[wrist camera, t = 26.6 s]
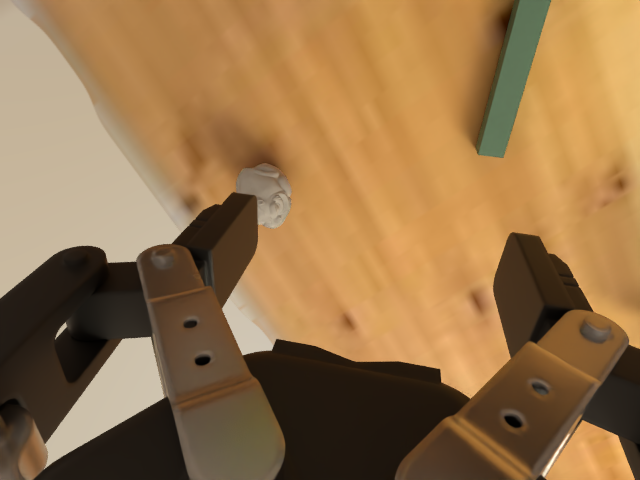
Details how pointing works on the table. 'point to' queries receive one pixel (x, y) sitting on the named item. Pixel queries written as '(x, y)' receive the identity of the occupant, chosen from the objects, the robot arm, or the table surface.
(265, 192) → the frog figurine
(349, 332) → the table surface
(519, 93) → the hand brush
